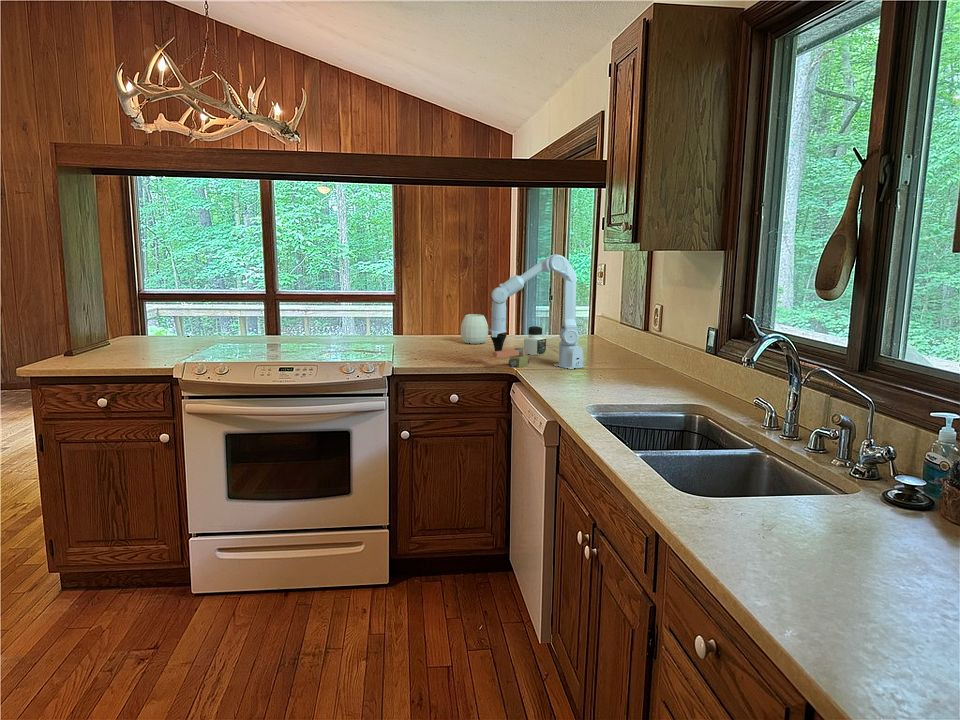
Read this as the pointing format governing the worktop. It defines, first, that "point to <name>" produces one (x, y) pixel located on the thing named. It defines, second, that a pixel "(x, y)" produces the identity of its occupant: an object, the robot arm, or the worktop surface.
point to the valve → (518, 361)
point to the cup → (474, 329)
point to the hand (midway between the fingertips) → (498, 353)
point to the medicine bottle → (535, 341)
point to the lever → (509, 352)
